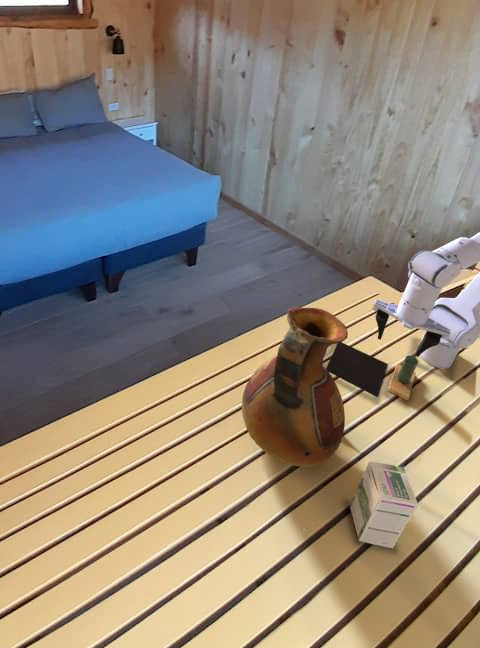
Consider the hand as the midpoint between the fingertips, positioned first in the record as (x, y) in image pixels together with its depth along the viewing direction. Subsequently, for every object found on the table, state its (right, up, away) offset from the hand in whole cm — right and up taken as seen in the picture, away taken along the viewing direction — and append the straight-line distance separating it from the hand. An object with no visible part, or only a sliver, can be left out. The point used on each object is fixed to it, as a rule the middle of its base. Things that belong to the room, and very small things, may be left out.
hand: (398, 344), depth 95 cm
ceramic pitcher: (-30, -16, -7) cm, 34 cm away
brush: (+2, -11, +2) cm, 11 cm away
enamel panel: (-7, -9, +6) cm, 13 cm away
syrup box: (-21, -24, -23) cm, 39 cm away
